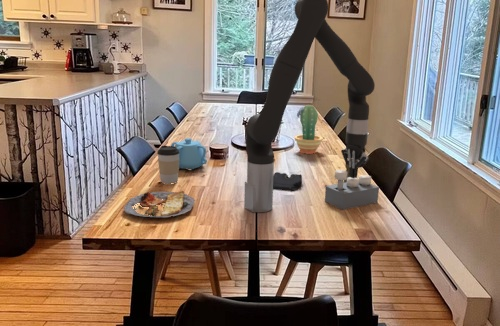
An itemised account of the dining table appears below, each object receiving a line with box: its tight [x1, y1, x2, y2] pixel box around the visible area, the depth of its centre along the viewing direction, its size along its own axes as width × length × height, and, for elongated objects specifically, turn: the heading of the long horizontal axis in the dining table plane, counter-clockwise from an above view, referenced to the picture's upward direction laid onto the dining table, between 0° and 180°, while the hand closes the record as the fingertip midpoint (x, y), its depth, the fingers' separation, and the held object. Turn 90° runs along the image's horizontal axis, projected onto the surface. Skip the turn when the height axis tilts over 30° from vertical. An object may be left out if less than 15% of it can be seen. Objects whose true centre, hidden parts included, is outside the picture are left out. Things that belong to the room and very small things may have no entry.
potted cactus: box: [294, 105, 324, 155], centre depth 241 cm, size 15×15×25 cm
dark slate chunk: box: [273, 171, 303, 192], centre depth 188 cm, size 15×22×5 cm
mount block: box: [324, 182, 380, 211], centre depth 168 cm, size 17×10×6 cm, turn 120°
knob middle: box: [347, 177, 359, 188], centre depth 168 cm, size 4×4×8 cm
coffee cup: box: [157, 145, 180, 185], centre depth 186 cm, size 9×9×15 cm
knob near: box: [334, 169, 347, 191], centre depth 164 cm, size 4×4×8 cm
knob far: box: [358, 174, 372, 186], centre depth 171 cm, size 4×4×8 cm
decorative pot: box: [170, 137, 208, 170], centre depth 209 cm, size 16×16×14 cm
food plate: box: [123, 190, 196, 219], centre depth 159 cm, size 25×23×4 cm
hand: (353, 177), depth 167 cm, fingers closed
